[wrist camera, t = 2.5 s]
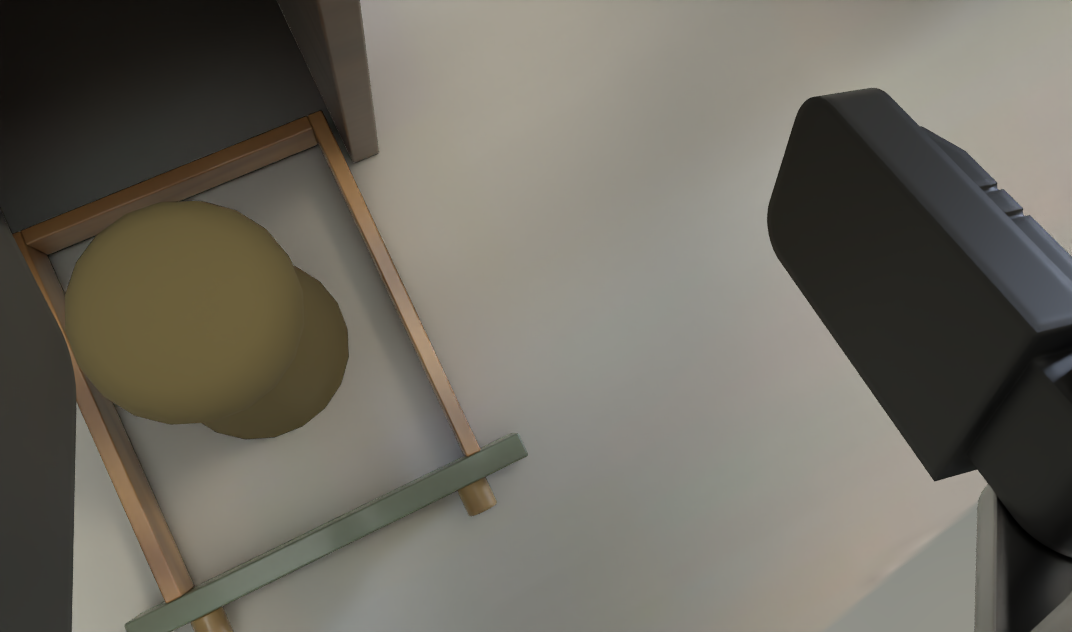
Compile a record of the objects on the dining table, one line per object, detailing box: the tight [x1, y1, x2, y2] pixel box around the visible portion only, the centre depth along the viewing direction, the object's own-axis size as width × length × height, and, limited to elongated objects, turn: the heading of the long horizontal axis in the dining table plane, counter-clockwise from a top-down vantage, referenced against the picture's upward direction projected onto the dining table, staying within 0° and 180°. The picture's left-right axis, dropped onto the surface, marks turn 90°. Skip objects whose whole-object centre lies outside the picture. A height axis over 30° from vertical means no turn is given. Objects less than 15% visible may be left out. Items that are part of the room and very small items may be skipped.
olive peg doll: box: [65, 201, 349, 439], centre depth 25 cm, size 6×6×11 cm
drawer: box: [12, 110, 528, 632], centre depth 29 cm, size 14×13×2 cm
